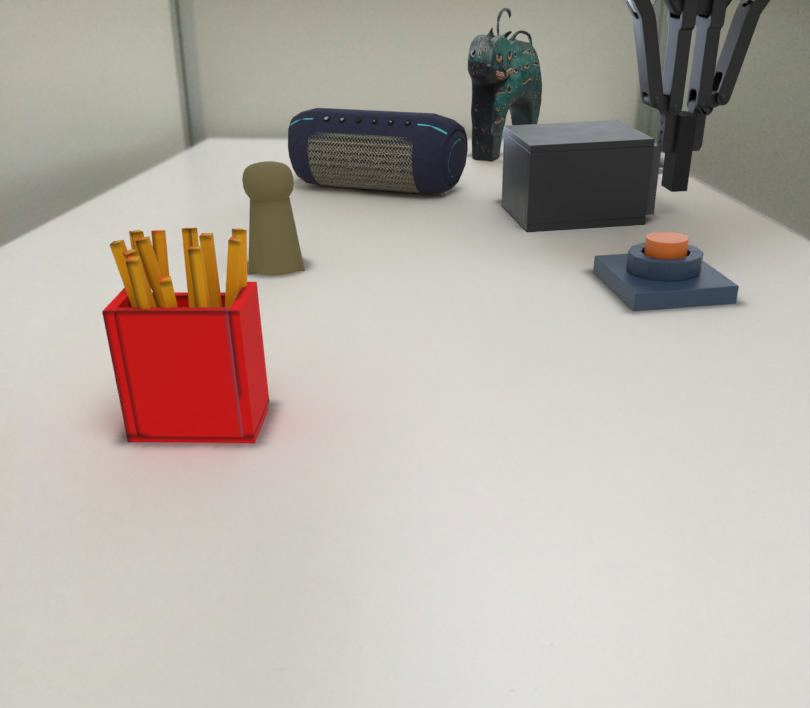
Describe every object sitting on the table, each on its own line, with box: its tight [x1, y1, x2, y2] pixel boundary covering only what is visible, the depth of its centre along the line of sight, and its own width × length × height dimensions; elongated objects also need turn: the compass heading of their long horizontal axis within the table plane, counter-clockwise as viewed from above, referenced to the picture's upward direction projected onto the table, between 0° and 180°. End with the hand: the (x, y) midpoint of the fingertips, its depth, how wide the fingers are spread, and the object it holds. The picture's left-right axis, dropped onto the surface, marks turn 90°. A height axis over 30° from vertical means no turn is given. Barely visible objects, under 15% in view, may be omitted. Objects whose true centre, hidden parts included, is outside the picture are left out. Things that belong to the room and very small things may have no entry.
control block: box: [592, 241, 740, 312], centre depth 94 cm, size 10×12×4 cm
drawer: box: [646, 141, 665, 216], centre depth 118 cm, size 18×11×8 cm, turn 99°
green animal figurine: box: [467, 7, 543, 162], centre depth 148 cm, size 20×6×20 cm, turn 149°
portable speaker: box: [287, 107, 469, 196], centre depth 130 cm, size 25×10×10 cm, turn 67°
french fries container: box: [101, 227, 270, 444], centre depth 68 cm, size 7×9×14 cm
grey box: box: [501, 119, 656, 233], centre depth 117 cm, size 15×13×10 cm
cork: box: [241, 160, 306, 276], centre depth 100 cm, size 6×6×11 cm
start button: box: [644, 231, 690, 259], centre depth 93 cm, size 4×4×2 cm
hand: (673, 187), depth 91 cm, fingers closed
